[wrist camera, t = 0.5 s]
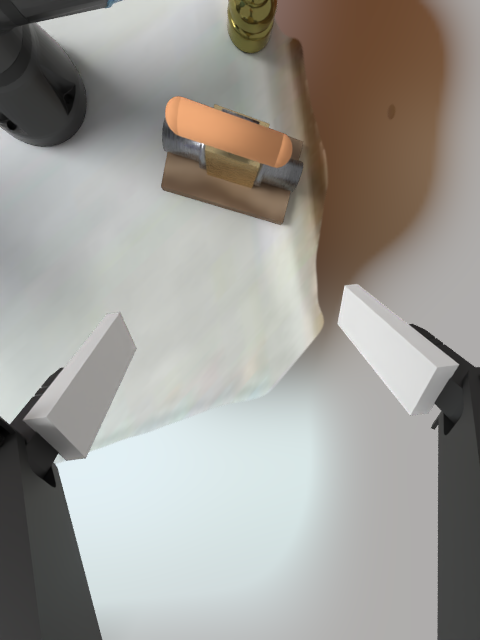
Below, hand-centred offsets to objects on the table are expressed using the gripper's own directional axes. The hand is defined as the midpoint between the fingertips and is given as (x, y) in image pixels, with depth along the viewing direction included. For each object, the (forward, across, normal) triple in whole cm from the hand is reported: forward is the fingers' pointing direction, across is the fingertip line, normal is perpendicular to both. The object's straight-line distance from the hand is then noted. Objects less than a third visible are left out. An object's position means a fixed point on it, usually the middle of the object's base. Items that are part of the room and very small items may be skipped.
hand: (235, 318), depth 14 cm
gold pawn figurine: (+46, +8, +27) cm, 54 cm away
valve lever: (+29, +4, +12) cm, 32 cm away
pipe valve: (+37, +3, +8) cm, 38 cm away
